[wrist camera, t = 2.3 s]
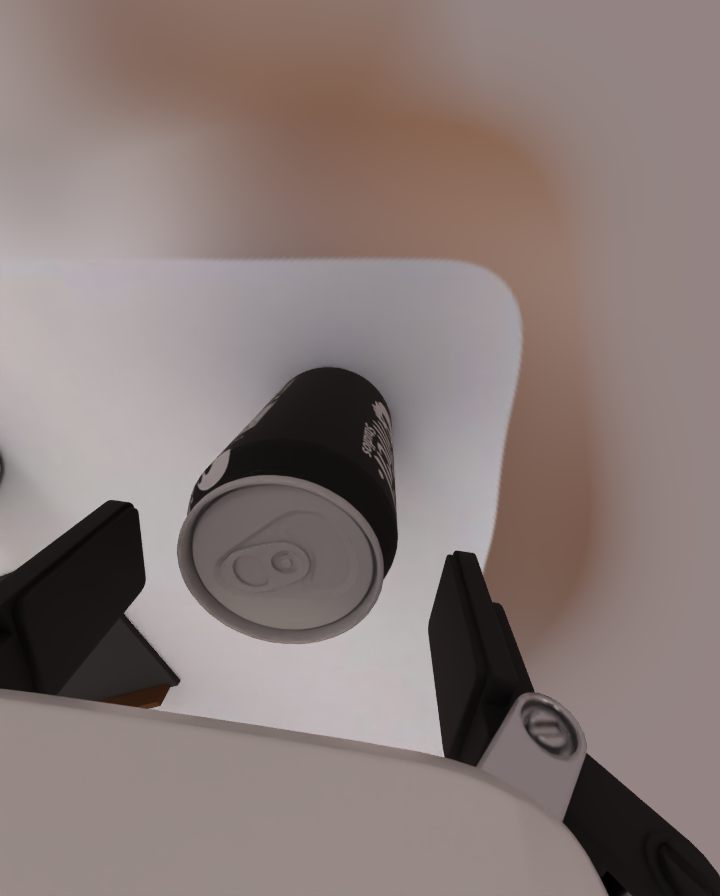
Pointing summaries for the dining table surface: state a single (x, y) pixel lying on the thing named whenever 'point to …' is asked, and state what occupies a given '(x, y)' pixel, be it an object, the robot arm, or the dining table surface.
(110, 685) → the corner mat
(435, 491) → the dining table surface
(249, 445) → the beverage can
